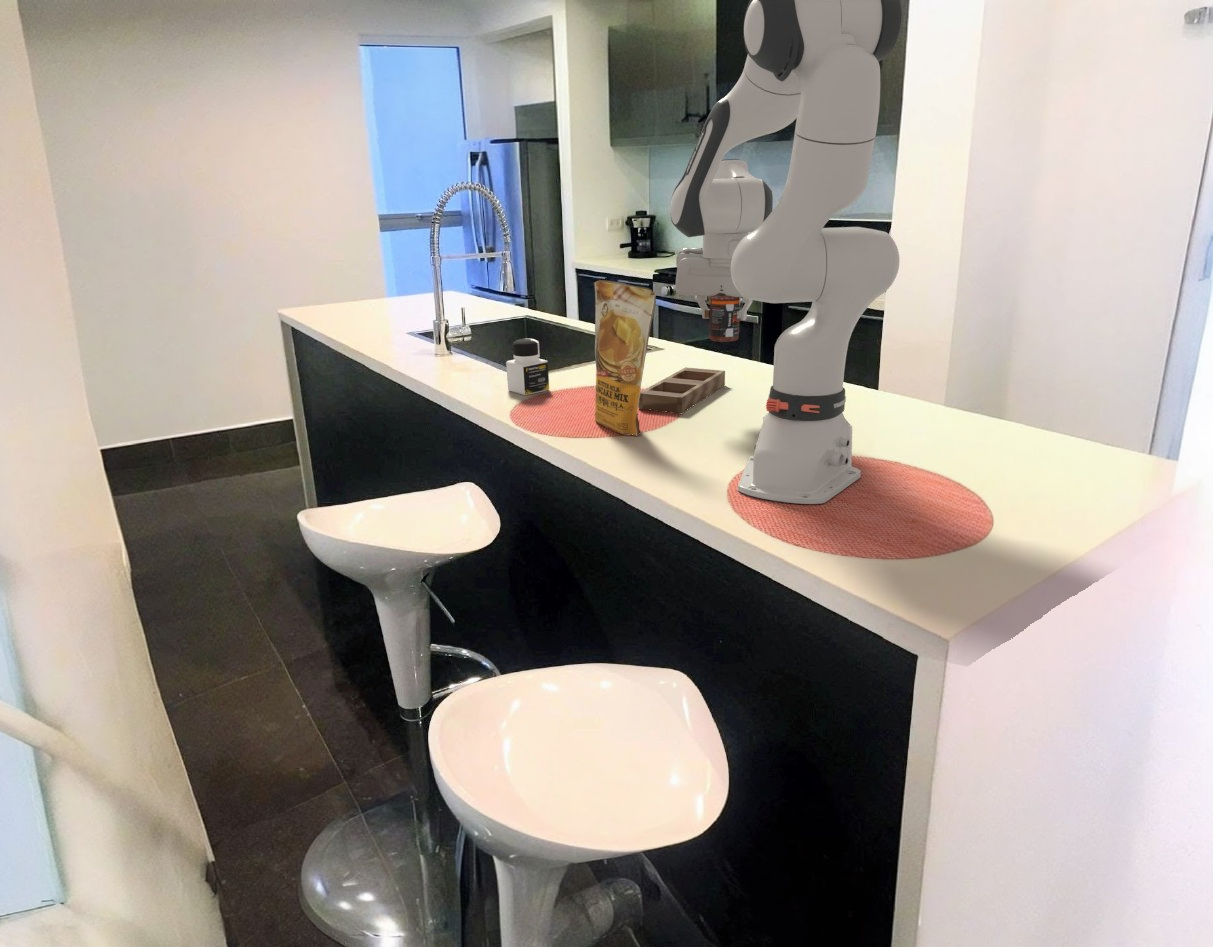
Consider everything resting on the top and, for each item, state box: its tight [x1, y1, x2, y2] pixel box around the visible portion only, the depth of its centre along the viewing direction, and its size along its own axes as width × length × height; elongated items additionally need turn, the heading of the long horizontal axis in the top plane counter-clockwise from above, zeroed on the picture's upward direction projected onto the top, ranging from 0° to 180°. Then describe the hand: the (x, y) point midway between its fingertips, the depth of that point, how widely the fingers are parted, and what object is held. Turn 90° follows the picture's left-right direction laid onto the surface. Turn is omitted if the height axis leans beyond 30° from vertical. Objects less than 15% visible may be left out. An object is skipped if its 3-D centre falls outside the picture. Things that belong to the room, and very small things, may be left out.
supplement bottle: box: [708, 285, 741, 343], centre depth 167 cm, size 6×6×11 cm
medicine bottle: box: [505, 338, 550, 396], centre depth 194 cm, size 7×7×12 cm
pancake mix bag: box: [593, 279, 657, 437], centre depth 162 cm, size 7×19×28 cm, turn 29°
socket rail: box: [638, 367, 726, 414], centre depth 186 cm, size 26×10×4 cm, turn 152°
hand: (724, 318), depth 167 cm, fingers closed on supplement bottle, 6 cm apart
